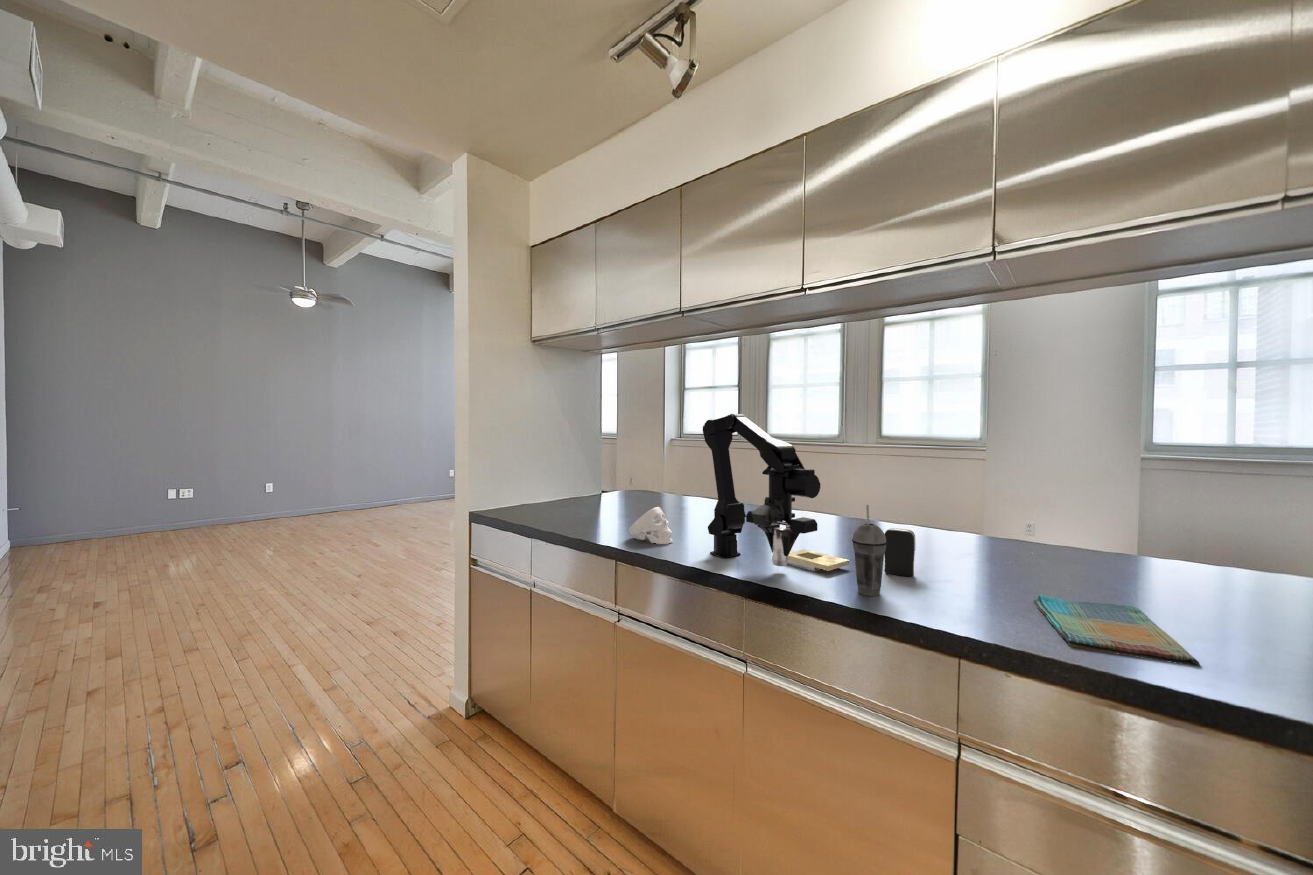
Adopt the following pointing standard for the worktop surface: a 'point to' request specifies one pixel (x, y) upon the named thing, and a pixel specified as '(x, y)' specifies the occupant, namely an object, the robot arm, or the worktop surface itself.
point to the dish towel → (1111, 629)
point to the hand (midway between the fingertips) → (780, 554)
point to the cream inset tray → (814, 560)
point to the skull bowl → (652, 527)
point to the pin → (778, 548)
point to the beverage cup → (869, 557)
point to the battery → (900, 552)
